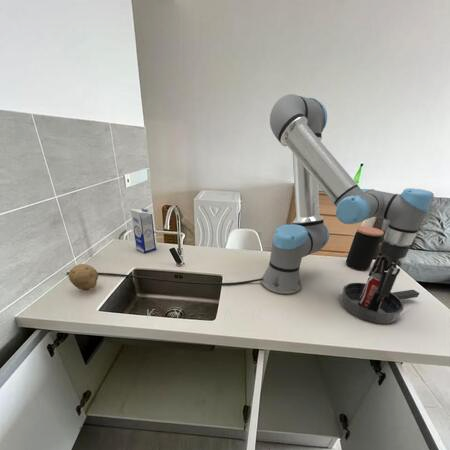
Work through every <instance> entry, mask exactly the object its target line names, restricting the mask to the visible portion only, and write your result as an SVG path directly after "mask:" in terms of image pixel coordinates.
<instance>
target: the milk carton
mask: <svg viewBox="0 0 450 450" xmlns="http://www.w3.org/2000/svg"><path fill="white" fill-rule="evenodd" d="M130 215H131V221H132V228H133V234H134V242H135V248H136V250H137V251H139V252H141V253H143V254H147V253H150V252H153V251H156V250H157V246H156V236H155V227H154V216H153V213H151V212H149V209H147V208H141V209H136V208H130Z"/></svg>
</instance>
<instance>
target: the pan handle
mask: <svg viewBox="0 0 450 450" xmlns="http://www.w3.org/2000/svg"><path fill="white" fill-rule="evenodd" d="M392 293H393V294H394V295H396V296H397V297H398V298H399V299H400V300H401V301H403V300H407V299H408V300H409V299H413V298H415V299H416V298H418V297H419V295H420V292H419V291H416V290H415V289H407V290H400V291H393V292H392ZM388 297H389V298H390V299H391V300H393V299H394V296H392V295H391V294H389V296H388ZM392 297H393V298H392Z"/></svg>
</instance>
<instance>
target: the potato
mask: <svg viewBox="0 0 450 450" xmlns="http://www.w3.org/2000/svg"><path fill="white" fill-rule="evenodd" d="M68 272H69V274H68V280H69V282H70V283H71V284H72V285H73V286H74V287H75V288H76V289H78V290H81V291H83V292H84V291H85V292H86V291H90V290H92V289H94V288H95V287H96V286H97V284H98V279H99V275H98V273H99V272H98V270H96V269H95V268H94V267H93V266H92V265H89V264H86V263H79V264H75V265H74V266H73V267H72V268H71V269H70V270H69V271H68Z"/></svg>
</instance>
